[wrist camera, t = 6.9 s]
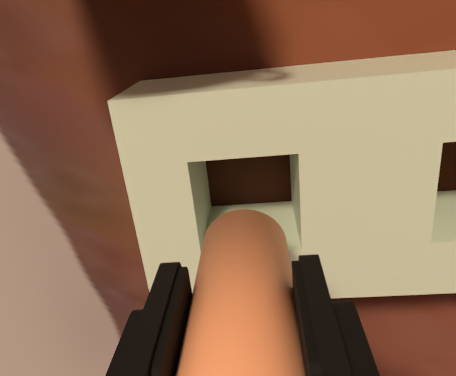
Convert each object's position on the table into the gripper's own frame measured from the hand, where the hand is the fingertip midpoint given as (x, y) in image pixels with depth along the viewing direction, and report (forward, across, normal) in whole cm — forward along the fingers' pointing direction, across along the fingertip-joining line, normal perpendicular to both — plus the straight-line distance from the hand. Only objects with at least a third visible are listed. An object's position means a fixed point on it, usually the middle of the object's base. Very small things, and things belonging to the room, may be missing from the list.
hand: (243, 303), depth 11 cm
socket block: (+11, -5, 0) cm, 12 cm away
